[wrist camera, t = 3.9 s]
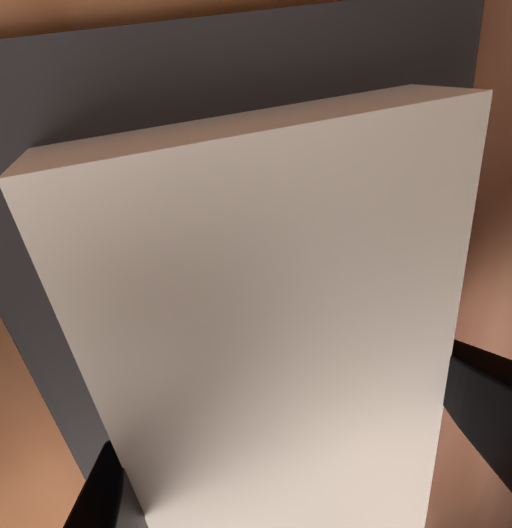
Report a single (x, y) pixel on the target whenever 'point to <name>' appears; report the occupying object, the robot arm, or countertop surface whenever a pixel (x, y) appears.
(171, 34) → the mat
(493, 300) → the countertop surface
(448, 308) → the white rectangular block
